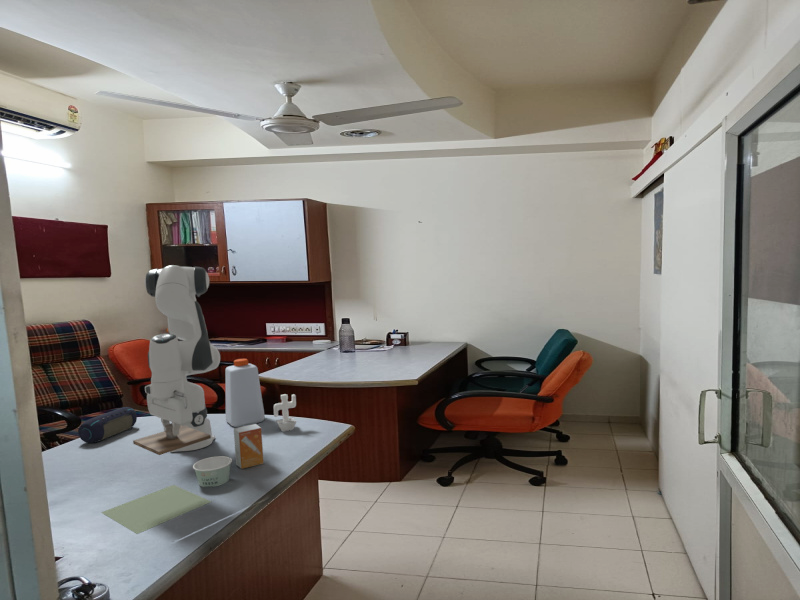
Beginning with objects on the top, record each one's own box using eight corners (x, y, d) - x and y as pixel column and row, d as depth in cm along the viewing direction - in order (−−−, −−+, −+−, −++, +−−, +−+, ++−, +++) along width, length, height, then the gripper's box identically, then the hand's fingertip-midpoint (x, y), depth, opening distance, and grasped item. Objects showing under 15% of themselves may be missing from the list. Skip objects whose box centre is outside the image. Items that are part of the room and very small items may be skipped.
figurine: (273, 429, 225) (271, 394, 224) (295, 425, 229) (293, 391, 228) (277, 433, 219) (274, 398, 218) (299, 429, 223) (297, 394, 221)
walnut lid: (133, 443, 160) (131, 427, 160) (183, 428, 172) (182, 413, 172) (159, 455, 150) (157, 437, 149) (210, 438, 162) (209, 422, 162)
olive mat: (101, 513, 155) (101, 512, 155) (173, 486, 172) (173, 484, 172) (137, 535, 141) (137, 533, 141) (211, 502, 158) (211, 501, 158)
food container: (192, 493, 166) (190, 472, 165) (196, 478, 177) (194, 459, 177) (232, 486, 169) (231, 466, 168) (234, 472, 180) (232, 453, 180)
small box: (241, 469, 182) (238, 432, 181) (235, 464, 188) (233, 428, 187) (264, 463, 187) (261, 427, 186) (258, 458, 192) (255, 423, 191)
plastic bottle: (223, 421, 241) (218, 360, 239) (256, 414, 249) (252, 355, 247) (233, 429, 228) (228, 364, 226) (267, 421, 237) (263, 359, 234)
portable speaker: (95, 446, 215) (92, 422, 215) (76, 445, 218) (73, 421, 218) (142, 426, 239) (140, 405, 238) (124, 425, 242) (122, 404, 241)
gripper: (196, 391, 155) (199, 437, 157) (161, 382, 168) (165, 424, 170) (175, 396, 151) (179, 443, 152) (141, 386, 163) (145, 430, 165)
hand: (171, 433), depth 161 cm, fingers closed on walnut lid, 3 cm apart
